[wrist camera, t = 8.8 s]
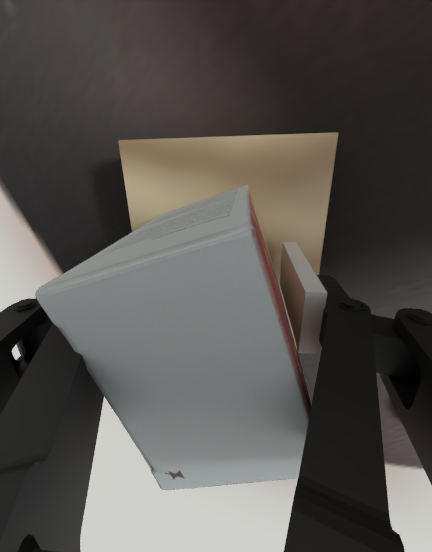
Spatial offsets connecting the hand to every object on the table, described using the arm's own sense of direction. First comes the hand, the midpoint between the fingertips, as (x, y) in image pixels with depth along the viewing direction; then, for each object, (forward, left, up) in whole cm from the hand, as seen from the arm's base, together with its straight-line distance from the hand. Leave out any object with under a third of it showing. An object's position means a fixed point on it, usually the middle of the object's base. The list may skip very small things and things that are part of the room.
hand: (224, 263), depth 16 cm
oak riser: (0, 0, -5) cm, 5 cm away
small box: (0, 0, -1) cm, 1 cm away
